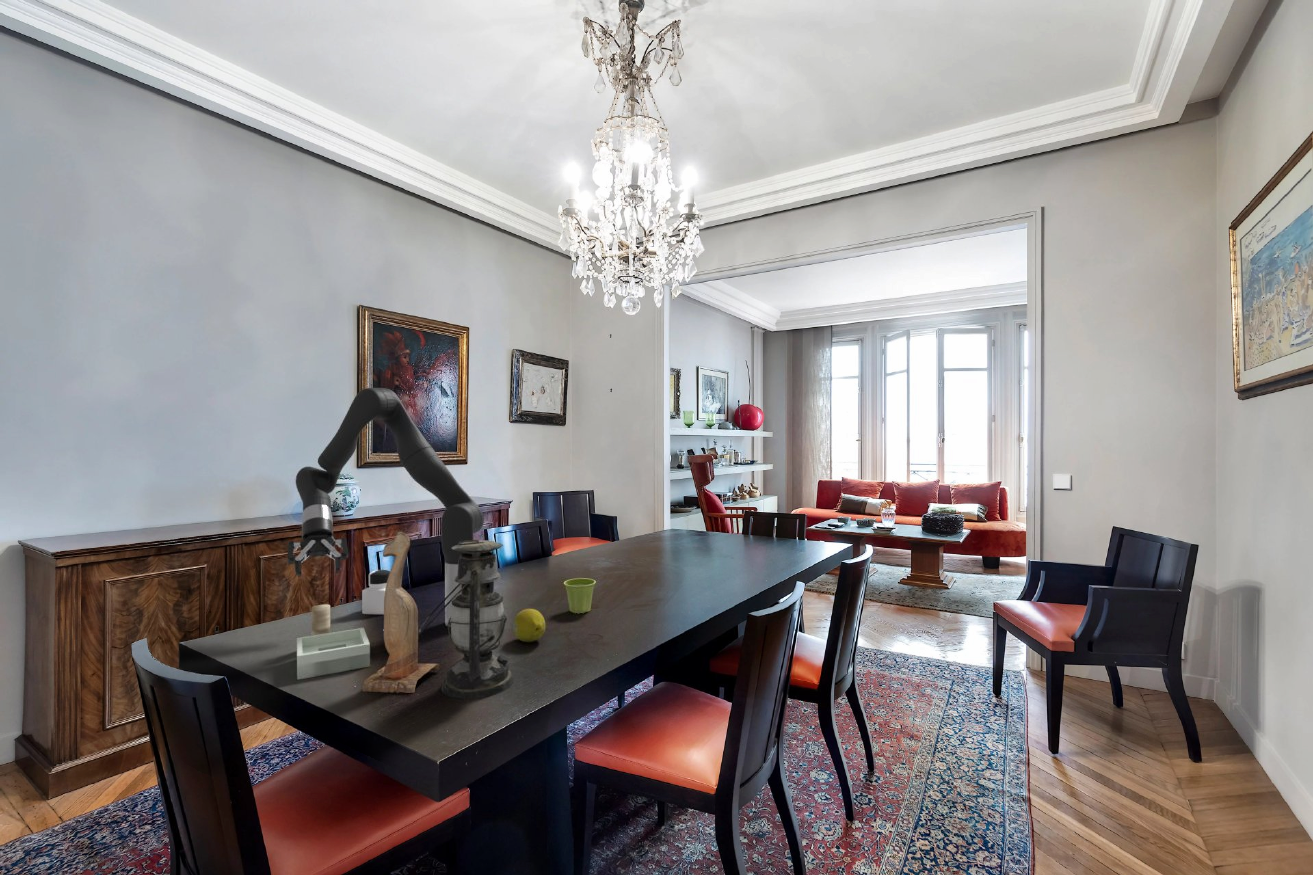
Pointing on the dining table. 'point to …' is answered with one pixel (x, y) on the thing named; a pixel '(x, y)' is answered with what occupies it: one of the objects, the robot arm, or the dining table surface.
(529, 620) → the lemon
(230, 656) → the dining table surface
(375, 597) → the medicine bottle
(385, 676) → the bird sculpture
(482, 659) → the lantern
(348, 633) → the socket box
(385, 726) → the dining table surface
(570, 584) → the plant pot
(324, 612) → the peg
